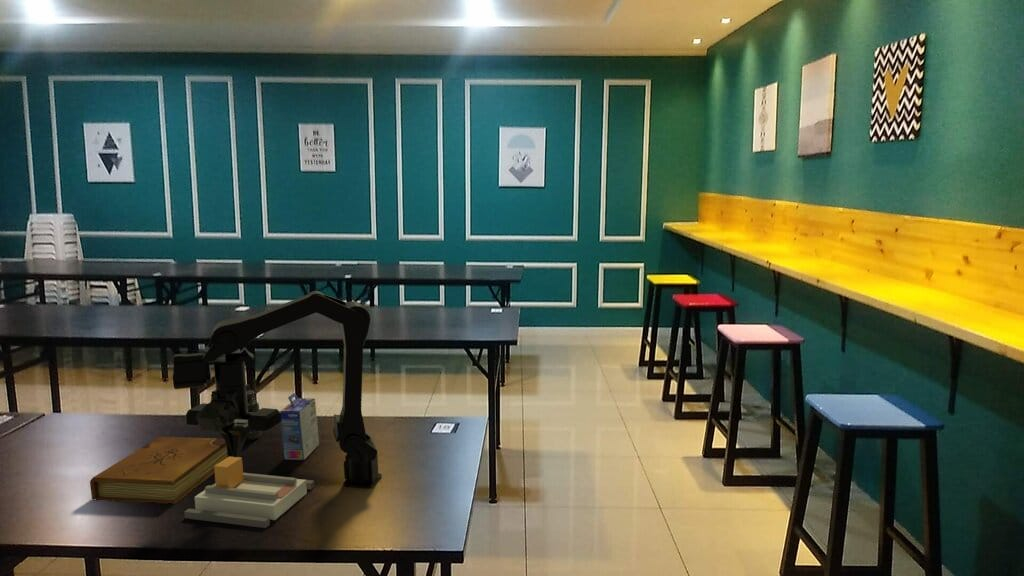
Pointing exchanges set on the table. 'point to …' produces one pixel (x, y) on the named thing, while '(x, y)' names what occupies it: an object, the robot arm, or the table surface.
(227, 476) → the handle
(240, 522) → the grey base plate
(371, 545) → the table surface
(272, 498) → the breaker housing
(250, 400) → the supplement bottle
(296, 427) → the ink cartridge box
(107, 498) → the diary
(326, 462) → the table surface
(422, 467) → the table surface
